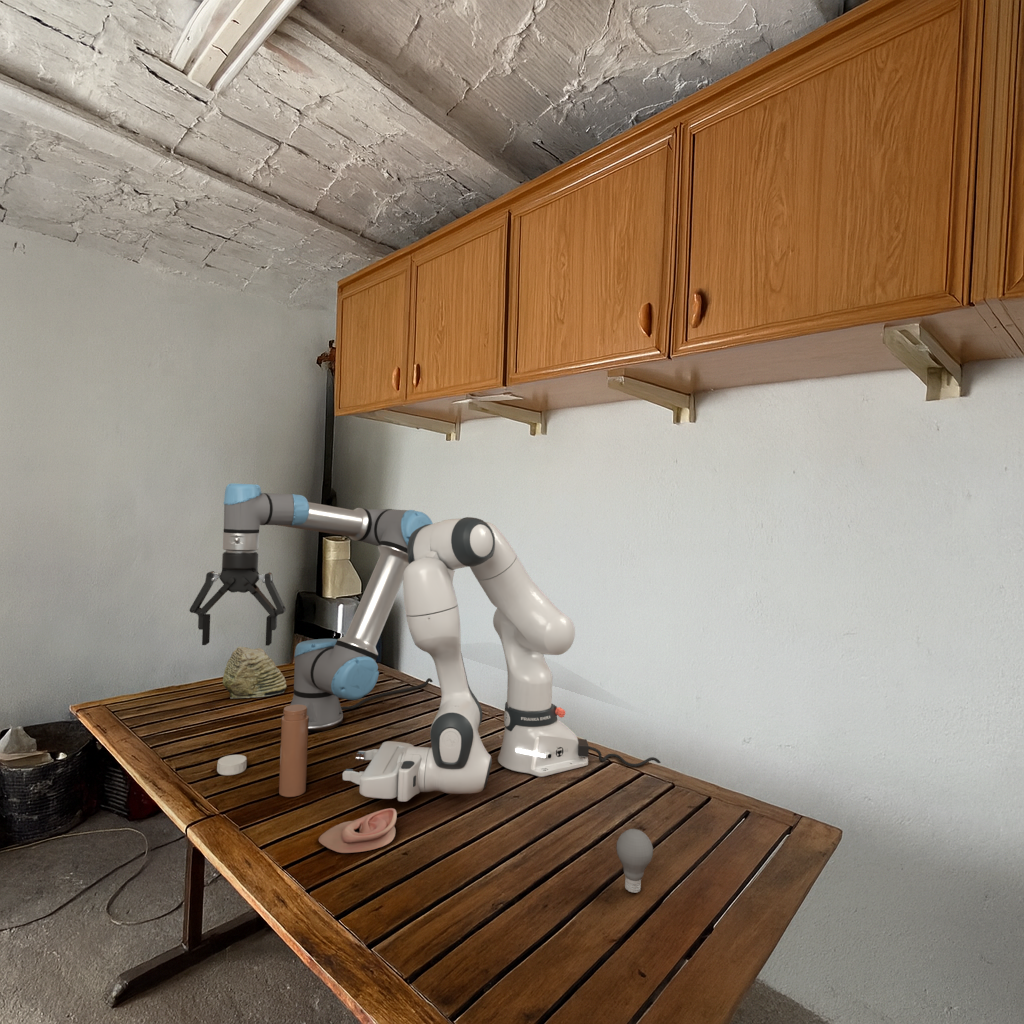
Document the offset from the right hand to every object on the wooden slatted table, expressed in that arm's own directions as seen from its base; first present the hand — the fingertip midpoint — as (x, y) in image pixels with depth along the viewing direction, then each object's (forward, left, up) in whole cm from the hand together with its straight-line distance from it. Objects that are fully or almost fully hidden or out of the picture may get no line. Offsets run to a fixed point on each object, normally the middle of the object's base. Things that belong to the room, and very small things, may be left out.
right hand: (350, 764), depth 135 cm
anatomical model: (+1, +18, -6) cm, 19 cm away
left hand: (+23, -20, +22) cm, 38 cm away
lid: (+23, -20, -4) cm, 31 cm away
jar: (+11, -5, -6) cm, 14 cm away
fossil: (+18, -76, -6) cm, 78 cm away
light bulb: (-40, +48, -6) cm, 63 cm away
